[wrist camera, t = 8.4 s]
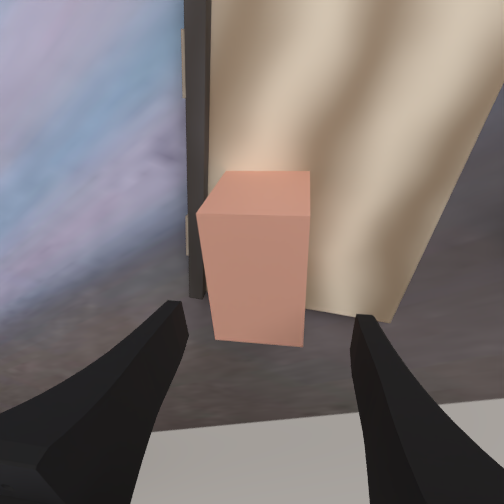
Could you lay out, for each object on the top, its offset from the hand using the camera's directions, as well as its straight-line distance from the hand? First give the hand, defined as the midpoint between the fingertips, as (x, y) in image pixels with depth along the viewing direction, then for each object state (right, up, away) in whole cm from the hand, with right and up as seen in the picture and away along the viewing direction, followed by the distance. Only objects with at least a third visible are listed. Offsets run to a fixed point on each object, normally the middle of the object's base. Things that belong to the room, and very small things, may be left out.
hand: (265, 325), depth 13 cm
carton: (+1, +4, +8) cm, 9 cm away
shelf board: (+4, +8, +7) cm, 11 cm away
